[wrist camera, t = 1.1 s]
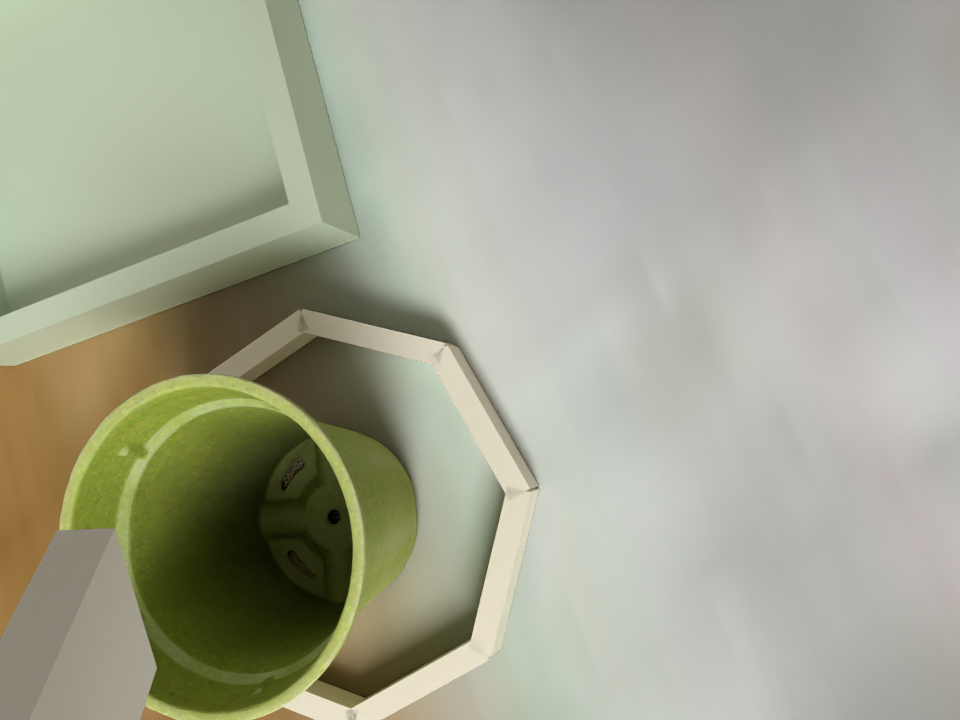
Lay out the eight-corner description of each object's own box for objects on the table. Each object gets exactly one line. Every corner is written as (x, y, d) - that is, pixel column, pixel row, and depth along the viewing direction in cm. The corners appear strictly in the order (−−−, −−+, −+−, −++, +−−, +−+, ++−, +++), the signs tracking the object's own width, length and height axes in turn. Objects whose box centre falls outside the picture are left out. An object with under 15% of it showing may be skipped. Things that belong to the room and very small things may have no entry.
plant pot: (319, 331, 34) (174, 305, 25) (519, 491, 31) (430, 521, 23) (184, 531, 35) (3, 569, 27) (365, 702, 32) (228, 802, 24)
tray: (-58, 12, 40) (-122, -19, 37) (257, -152, 35) (212, -201, 33) (14, 366, 38) (-47, 362, 35) (360, 237, 33) (321, 221, 30)
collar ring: (224, 289, 35) (206, 285, 34) (567, 371, 31) (559, 370, 30) (144, 636, 35) (123, 644, 34) (474, 763, 31) (462, 777, 30)
